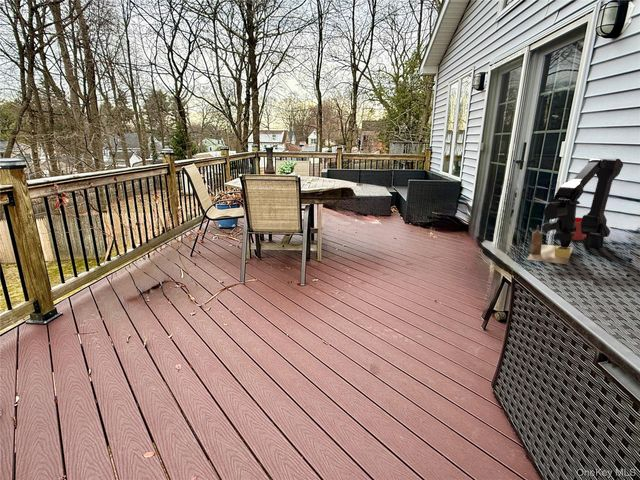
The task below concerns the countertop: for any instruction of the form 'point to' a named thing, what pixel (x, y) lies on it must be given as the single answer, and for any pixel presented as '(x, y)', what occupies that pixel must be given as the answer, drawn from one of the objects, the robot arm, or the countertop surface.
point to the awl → (536, 242)
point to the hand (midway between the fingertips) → (563, 251)
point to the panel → (549, 255)
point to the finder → (562, 252)
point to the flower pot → (578, 230)
